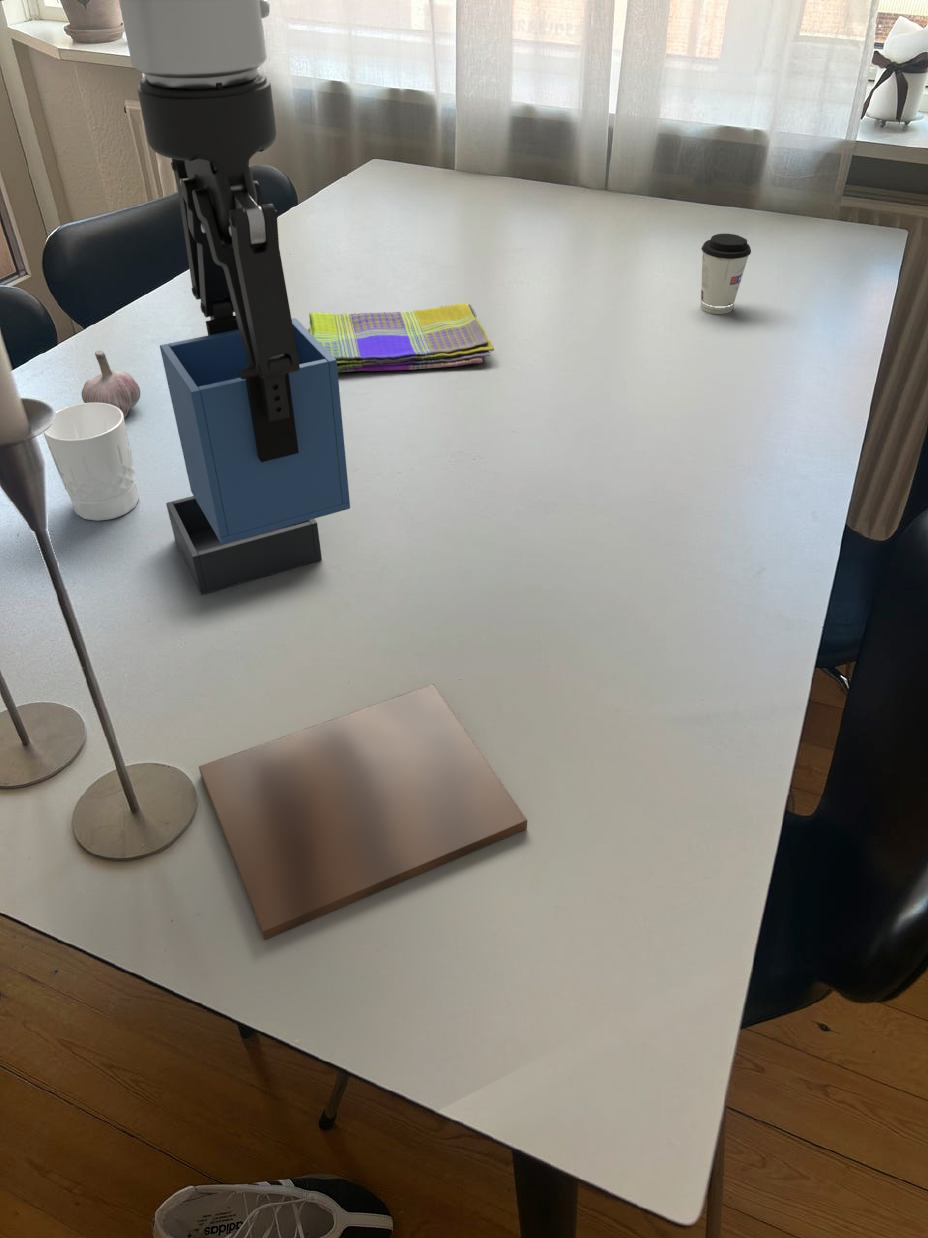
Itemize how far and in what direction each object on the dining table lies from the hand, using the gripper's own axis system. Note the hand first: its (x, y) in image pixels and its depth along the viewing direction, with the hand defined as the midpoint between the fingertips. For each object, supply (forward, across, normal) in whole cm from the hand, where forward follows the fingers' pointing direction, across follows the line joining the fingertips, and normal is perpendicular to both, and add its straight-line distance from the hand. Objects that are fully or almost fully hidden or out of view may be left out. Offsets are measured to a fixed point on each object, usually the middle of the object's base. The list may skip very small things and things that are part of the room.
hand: (258, 427), depth 70 cm
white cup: (+23, +33, +9) cm, 42 cm away
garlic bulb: (+23, +54, +4) cm, 59 cm away
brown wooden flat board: (+23, -17, +1) cm, 29 cm away
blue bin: (+6, 0, 0) cm, 6 cm away
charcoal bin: (+23, +18, -2) cm, 29 cm away
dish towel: (+23, +54, -35) cm, 69 cm away
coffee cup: (+23, +44, -82) cm, 96 cm away
